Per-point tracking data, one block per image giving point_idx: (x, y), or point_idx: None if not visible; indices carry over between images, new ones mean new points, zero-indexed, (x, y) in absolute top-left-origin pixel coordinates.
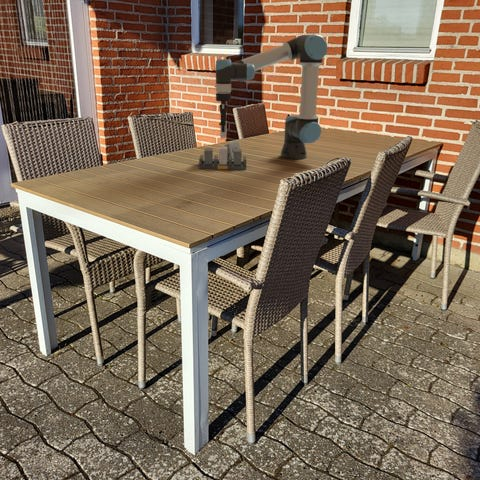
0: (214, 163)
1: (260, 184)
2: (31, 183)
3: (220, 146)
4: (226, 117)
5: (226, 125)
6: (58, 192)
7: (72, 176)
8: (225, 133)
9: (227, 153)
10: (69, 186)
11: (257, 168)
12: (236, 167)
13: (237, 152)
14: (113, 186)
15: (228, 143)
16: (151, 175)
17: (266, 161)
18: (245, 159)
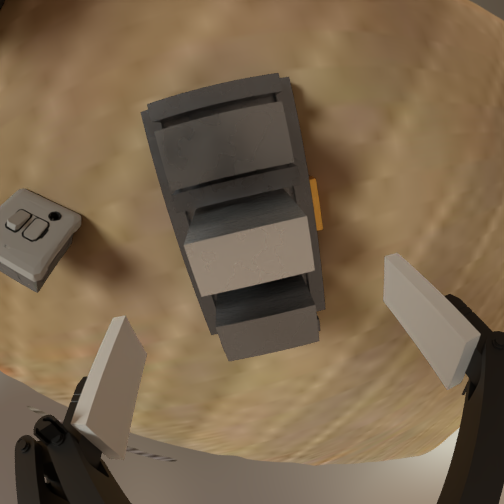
0: None
1: (478, 40)
2: (429, 446)
3: (208, 290)
4: (23, 450)
5: (100, 382)
6: None
7: (400, 447)
8: (424, 281)
9: (59, 255)
10: (456, 414)
11: (231, 30)
12: (299, 130)
13: (287, 132)
14: None
15: (35, 276)
16: (410, 375)
17: (56, 45)
18: (267, 79)
